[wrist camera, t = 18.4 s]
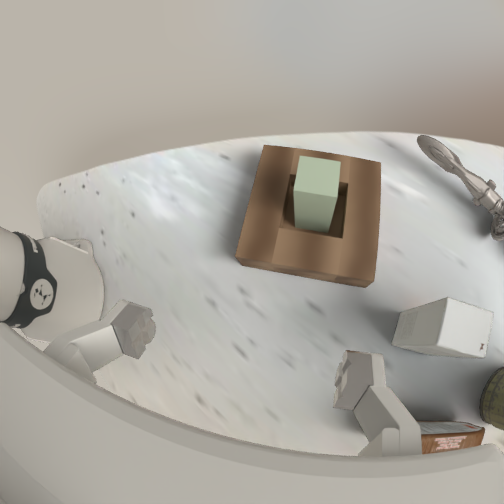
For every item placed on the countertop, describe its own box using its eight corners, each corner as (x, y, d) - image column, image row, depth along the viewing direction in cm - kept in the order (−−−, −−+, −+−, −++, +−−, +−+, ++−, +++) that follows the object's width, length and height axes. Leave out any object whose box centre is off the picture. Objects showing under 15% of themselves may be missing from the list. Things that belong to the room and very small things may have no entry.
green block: (295, 227, 33) (293, 190, 24) (300, 198, 34) (299, 155, 25) (328, 233, 32) (337, 197, 24) (331, 203, 33) (340, 161, 25)
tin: (362, 436, 25) (380, 463, 17) (370, 413, 26) (392, 435, 18) (458, 436, 22) (490, 454, 14) (465, 416, 23) (499, 429, 15)
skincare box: (438, 322, 28) (495, 311, 16) (429, 355, 27) (486, 360, 15) (399, 310, 29) (447, 295, 18) (389, 344, 28) (435, 347, 17)
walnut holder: (242, 265, 34) (234, 256, 30) (267, 162, 37) (264, 144, 34) (365, 287, 30) (374, 281, 27) (373, 178, 34) (380, 162, 31)
